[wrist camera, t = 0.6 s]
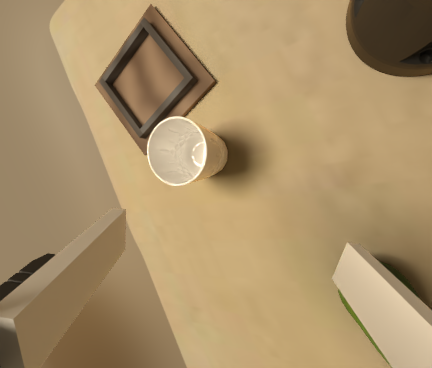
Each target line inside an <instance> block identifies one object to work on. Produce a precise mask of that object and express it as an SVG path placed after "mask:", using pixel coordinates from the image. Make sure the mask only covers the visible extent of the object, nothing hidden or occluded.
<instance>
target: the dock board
mask: <svg viewBox="0 0 432 368" xmlns="http://www.w3.org/2000/svg"><path fill="white" fill-rule="evenodd" d="M215 83H216V82H215V80H214V79H213V78H212V77H211V76H210V74H209V73H208V72H207V71H206V70H205V68H204V67H203V66H202V65H201V64H200V62H199V61H198V60H197V59H196V57H195V56H194V55H193V54H192V53H191V51H190V50H189V49H188V48H187V47H186V45H185V44H184V43H183V42H182V41H181V39H180V38H179V37H178V36H177V35H176V33H175V32H174V31H173V30H172V28H171V27H170V26H169V25H168V24H167V22H166V21H165V20H164V19H163V18H162V16H161V15H160V14H159V13H158V12H157V10H156V9H155V8H154V7H153V6H152V4H151V5H150V6H149V7H148V9H147V10H146V12H145V13H144V15H143V16H142V18H141V19H140V20H139V22H138V23H137V25H136V26H135V28H134V29H133V31H132V32H131V33H130V35H129V36H128V38H127V39H126V41H125V42H124V44H123V45H122V47H121V48H120V49H119V51H118V52H117V54H116V55H115V57H114V58H113V60H112V61H111V62H110V64H109V65H108V67H107V68H106V70H105V71H104V73H103V74H102V76H101V77H100V78H99V80H98V81H97V83H96V84H95V86H96V88H97V89H98V90H99V92H100V93H101V95H102V96H103V97H104V99H105V100H106V102H107V103H108V104H109V106H110V107H111V109H112V110H113V111H114V113H115V114H116V116H117V117H118V118H119V120H120V121H121V123H122V124H123V125H124V127H125V128H126V130H127V131H128V132H129V134H130V135H131V137H132V138H133V139H134V141H135V142H136V144H137V145H138V146H139V148H140V149H141V151H142V152H143V153H144V155H147V145H148V141H149V137H150V135H151V133H152V131H153V130H154V128H155V127H156V126H157V125H158V124H159V123H160V122H161V121H163V120H164V119H167V118H169V117H174V116H180V117H184V116H185V115H186V114H187V113H188V112H189V111H190V110H191V109H192V108H193V107H194V106H195V105H196V104H197V103H198V101H199V100H200V99H201V98H202V97H203V96H204V95H205V94H206V93H207V92H208V91H209V90H210V89H211V88H212V87H213V86H214V85H215Z"/></svg>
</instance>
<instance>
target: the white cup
mask: <svg viewBox="0 0 432 368" xmlns="http://www.w3.org/2000/svg"><path fill="white" fill-rule="evenodd" d="M147 156H148V161H149V164H150V167H151V169H152V171H153V172H154V174H155V175H156V176H157V177H158V178H159V179H160V180H161V181H163V182H164V183H166V184H169V185H173V186H182V185H186V184H189V183H192V182H196V181H199V180H202V179H205V178H208V177H210V176H212V175H215V174H217V173H218V172H219V171H221V170H222V169H223V167H224V166H225V164H226V162H227V156H228V150H227V148H226V145H225V142H224V141H223V140H222V139H221V138H220V137H219V136H218V135H216V134H214V133H213V132H211V131H210V130H208V129H206V128H205V127H203V126H201V125H199V124H197V123H195V122H193V121H192V120H190V119H188V118H185V117H180V116H174V117H169V118H167V119H164V120H163V121H161V122H160V123H159V124H158V125H157V126H156V127H155V128H154V130H153V131H152V133H151V135H150V137H149V141H148V145H147Z"/></svg>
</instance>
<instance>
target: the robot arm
mask: <svg viewBox="0 0 432 368" xmlns="http://www.w3.org/2000/svg"><path fill="white" fill-rule="evenodd" d="M346 30H347V35H348V39H349V42H350V44H351V47H352V48H353V50H354V52H355V53H356V55H357V56H358V57H359V58H360V59H361V60H362V61H363V62H364V63H366V64H367V65H368V66H370V67H372V68H374V69H375V70H378V71H380V72H383V73H386V74H390V75H396V76H421V75H427V74H432V0H350V2H349V5H348V10H347V16H346ZM125 224H126V209H119V208H111V209H110V210H109V211H108V212H106V213H105V214H104V215H103V216H102V217H101V218H99V219H98V220H97V221H96V222H95V223H93V224H92V225H91V226H90V227H89V228H88V229H86V230H85V231H84V232H83V233H81V234H80V235H79V236H78V237H77V238H75V239H74V240H73V241H72V242H71V243H70V244H68V245H67V246H66V247H65V248H63V249H62V250H61V251H60V252H59V253H58V254H56V255H55V254H46V255H44V256H42V257H40V258H38V259H35V260H33V261H32V262H30V263H29V264H28V265H27V266H25V267H24V268H23V269H21V270H20V271H19V273H16V274H15V275H13V276H12V277H11V278H9V279H8V281H7V282H4V283H3V284H2V285H0V368H40V367H41V366H42V364H43V363H44V361H45V360H46V359H47V357H48V356H49V354H50V353H51V352H52V350H53V349H54V348H55V346H56V345H57V343H58V342H59V341H60V339H61V338H62V336H63V335H64V334H65V332H66V331H67V329H68V328H69V327H70V325H71V324H72V322H73V321H74V320H75V318H76V317H77V316H78V314H79V313H80V311H81V310H82V308H83V307H84V306H85V305H86V303H87V302H88V300H89V299H90V298H91V296H92V295H93V294H94V292H95V291H96V289H97V288H98V287H99V285H100V284H101V282H102V281H103V280H104V278H105V277H106V275H107V274H108V273H109V271H110V270H111V269H112V267H113V266H114V264H115V263H116V262H117V260H118V259H119V257H120V256H121V255H122V253H123V252H124V250H125V230H126V226H125ZM332 280H333V281H334V283H335V284H336V286H337V287H338V289H339V290H340V292H341V293H342V295H343V296H344V298H345V299H346V300H347V302H348V303H349V305H350V306H351V308H352V309H353V311H354V312H355V314H356V315H357V317H358V318H359V320H360V321H361V323H362V324H363V325H364V327H365V328H366V330H367V331H368V333H369V334H370V336H371V337H372V339H373V340H374V342H375V343H376V345H377V346H378V348H379V349H380V350H381V352H382V353H383V355H384V356H385V358H386V359H387V361H388V362H389V364H390V365H391V367H392V368H432V310H431V309H430V308H429V307H428V306H427V305H425V304H424V303H423V302H422V301H421V300H420V299H419V298H418V297H417V296H416V295H415V294H413V293H412V292H411V291H410V290H409V289H408V288H407V287H406V286H405V285H404V284H403V283H402V282H400V281H399V280H398V279H397V278H396V277H395V276H394V275H393V274H392V273H391V272H390V271H389V270H387V269H386V268H385V267H384V266H383V265H382V264H381V263H380V262H379V261H378V260H377V259H376V258H374V257H373V256H372V255H371V254H370V253H369V252H368V251H367V250H366V249H365V248H364V247H362V246H361V245H360V244H356V243H349V242H347V244H346V246H345V249H344V251H343V253H342V256H341V258H340V261H339V263H338V265H337V268H336V270H335V272H334V275H333V277H332Z"/></svg>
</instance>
